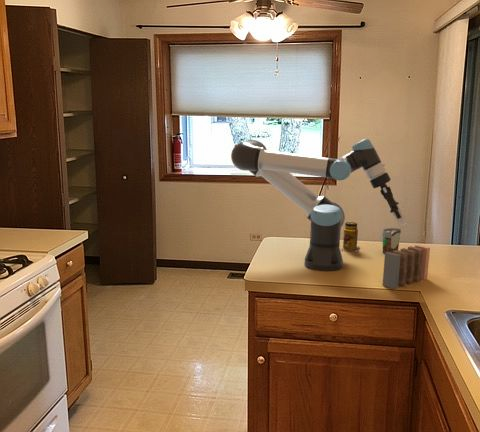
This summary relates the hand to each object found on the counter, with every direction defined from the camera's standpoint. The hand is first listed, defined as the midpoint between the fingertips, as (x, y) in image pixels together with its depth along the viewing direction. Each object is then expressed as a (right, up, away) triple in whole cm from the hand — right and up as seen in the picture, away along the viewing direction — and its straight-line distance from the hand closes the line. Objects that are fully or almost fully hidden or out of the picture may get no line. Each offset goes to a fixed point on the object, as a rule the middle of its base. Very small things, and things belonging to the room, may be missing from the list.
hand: (402, 223), depth 212 cm
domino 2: (-8, -22, -22) cm, 32 cm away
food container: (0, -13, +21) cm, 25 cm away
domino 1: (-12, -22, -24) cm, 35 cm away
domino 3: (-5, -21, -19) cm, 29 cm away
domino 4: (-1, -21, -16) cm, 26 cm away
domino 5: (+2, -20, -13) cm, 24 cm away
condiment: (-16, -12, +26) cm, 32 cm away
